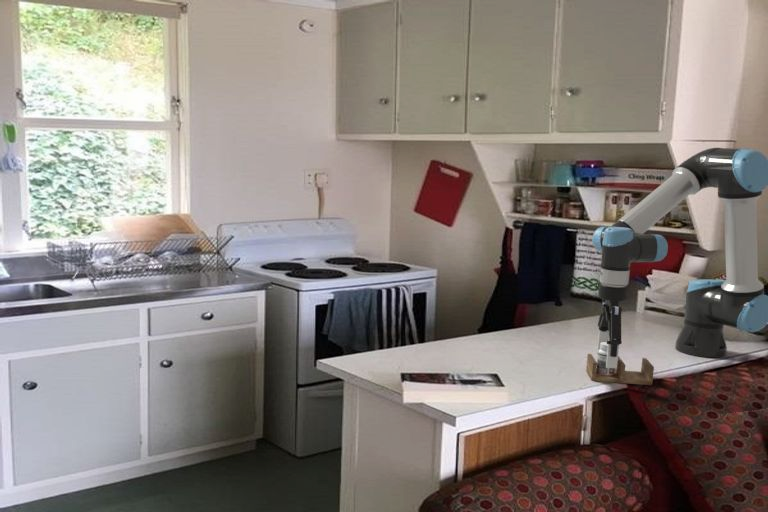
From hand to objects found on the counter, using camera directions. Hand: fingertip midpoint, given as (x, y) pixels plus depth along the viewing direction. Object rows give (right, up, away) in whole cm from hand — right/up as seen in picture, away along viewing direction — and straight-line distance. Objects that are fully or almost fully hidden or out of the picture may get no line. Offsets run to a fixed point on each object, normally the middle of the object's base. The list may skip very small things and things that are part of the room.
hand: (606, 360), depth 222 cm
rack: (+3, -5, 0) cm, 6 cm away
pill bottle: (0, -4, +1) cm, 4 cm away
